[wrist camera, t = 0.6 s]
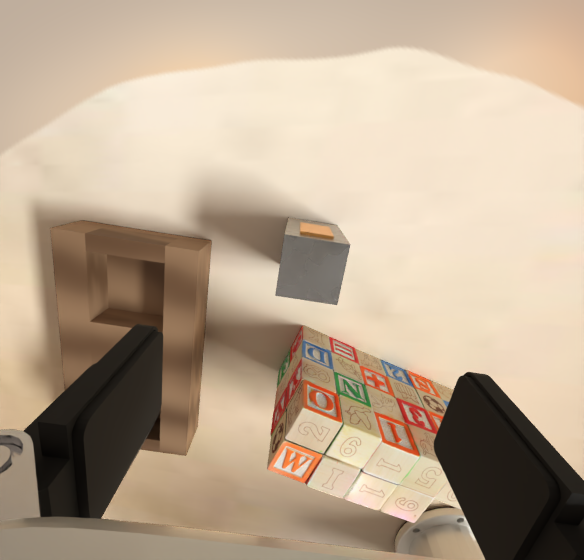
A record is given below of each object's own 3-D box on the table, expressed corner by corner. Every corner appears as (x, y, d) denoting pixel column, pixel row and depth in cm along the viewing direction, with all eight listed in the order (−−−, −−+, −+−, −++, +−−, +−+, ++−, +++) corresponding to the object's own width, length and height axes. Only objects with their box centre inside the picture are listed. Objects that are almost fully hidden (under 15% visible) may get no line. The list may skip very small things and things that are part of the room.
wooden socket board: (197, 426, 37) (186, 455, 34) (92, 411, 37) (69, 439, 33) (211, 240, 30) (198, 251, 26) (82, 220, 30) (50, 228, 26)
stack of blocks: (478, 399, 35) (566, 512, 24) (446, 439, 37) (512, 562, 26) (301, 323, 33) (302, 408, 21) (276, 371, 35) (264, 472, 23)
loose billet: (328, 271, 31) (337, 304, 23) (281, 264, 31) (275, 295, 23) (337, 223, 29) (350, 241, 22) (288, 215, 29) (284, 231, 22)
